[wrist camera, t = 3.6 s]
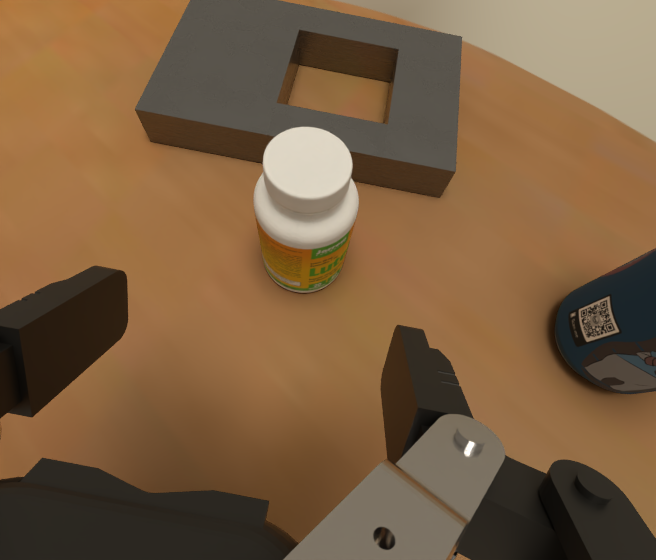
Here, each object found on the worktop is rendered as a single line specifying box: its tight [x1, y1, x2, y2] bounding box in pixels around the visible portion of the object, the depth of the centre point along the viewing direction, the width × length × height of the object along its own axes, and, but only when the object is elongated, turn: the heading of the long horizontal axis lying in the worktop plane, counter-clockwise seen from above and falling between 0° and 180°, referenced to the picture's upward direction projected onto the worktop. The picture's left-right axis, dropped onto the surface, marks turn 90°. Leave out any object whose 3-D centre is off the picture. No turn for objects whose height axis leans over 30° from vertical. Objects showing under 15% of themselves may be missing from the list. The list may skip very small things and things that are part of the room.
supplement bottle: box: [254, 127, 359, 293], centre depth 21 cm, size 5×5×10 cm
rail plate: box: [135, 0, 462, 198], centre depth 29 cm, size 22×14×3 cm, turn 80°
